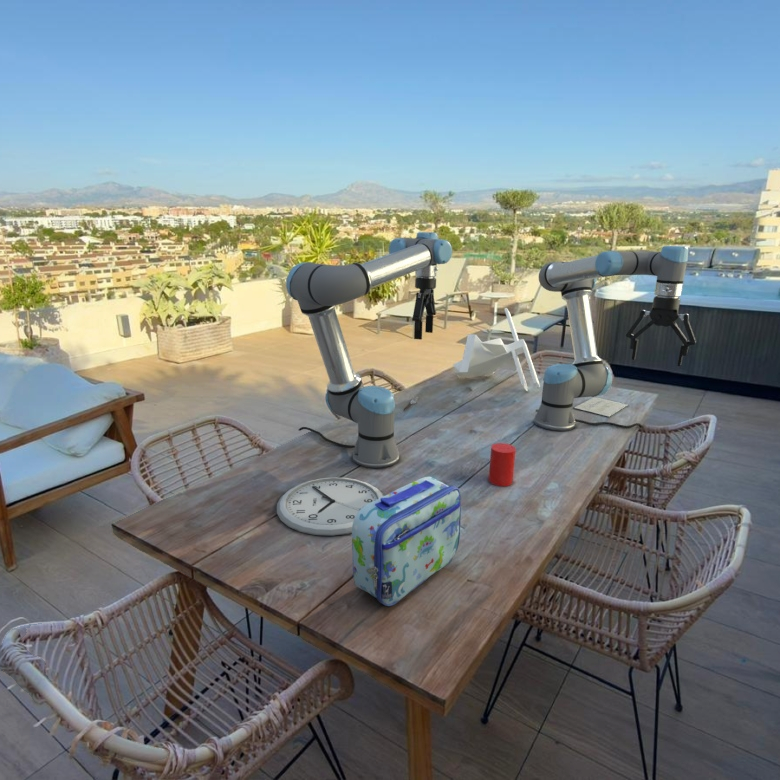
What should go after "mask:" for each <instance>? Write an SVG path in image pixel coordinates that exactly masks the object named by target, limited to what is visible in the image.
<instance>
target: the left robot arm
mask: <svg viewBox="0 0 780 780" xmlns="http://www.w3.org/2000/svg"><path fill="white" fill-rule="evenodd" d="M438 236H439V235H438V234H437V233H436V232H431V231H427V232H426V231H418V232H417V233H416V237H412V238H411V237H399V238H398V237H397V238H396V237H395V238H393V239H392V240H391V241H390V243H389V245H388V254H385V255H383V256H381V257H380V256H379V257H378V258H375V259H372V260H369V261H366V262H363V263H359V262H353V263H350V264H349V263H348V264H343V265H341V264H339V265H335V264H323V263H316V262H313V261H312V262H311V261H307V262H299V263H297V264H295V265H294V266H292V268H291V269H290V270H289V272H288V274H287V276H286V279H285V280H286V281H285V286H286V291H287V293H288V295H289V297H291V298H292V299H293V300H294V301H297V303H298V306H299V309H300V312H301V313H302V314H303V315H305V316H307V317H308V320H309V323H310V327H311V329H312V333H313V336H314V337H315V341H316V343H317V348H318V350H319V353H320V356H321V358H322V362H323V365H324V368H325V371H326V374H327V376H328V379H329V381H328V382H327V383H326V388H327V389H326V393H325V398H324V399H325V403H326V405H327V408H328V409H329V410H330V411H331V412H332V413H334V414H335V415H337V416H339V417H342V418H345V419H346V420H349V421H351V422H354V423H356V424H357V439H356V442H355V445H353V444H352V445H349V444H345V443H339V442H337V441H334V440H331V439H329V438H327V437H326V436H325V435H324V434H323V433H321V432H320V431H318V430H315V429H314V428H311V427H308V426H301V427H299V428H298V431H299V432H300V431H302V430H307V431H309V432H312V433H315V434H316V435H318V436H320V438H322V439H323V440H324V441H326V442H328V443H331V444H333V445H335V446H339V447H343V448H347V449H353V451H352V461H353V462H354V463H355V464H356V465H358V466H361V467H364V468H369V469H383V468H389V467H391V466H394V465H396V464H398V462H399V460H400V452H399V447H398V445H397V442H396V439H395V419H396V418H395V415H396V402H395V395H394V393H393V392H392V391H391V390H390V389H388V388H386V387H383V386H377V385H366V386H364V384H363V381H362V377H361V375H360V374H358V373H356V372H355V370H354V367H353V366H354V365H353V363H352V360H351V356H350V354H349V351H348V347H347V344H346V341H345V337H344V334H343V331H342V328H341V324H340V321H339V317H338V314H337V311H336V306H338V305H343V304H346V303H348V302H351V301H353V300H356V299H359V298H361V297H363V296H366V295H368V294H369V293H370V291H371V290H372V289H374V288H377V287H380V286H381V285H384V284H387V283H389V282H392V281H394V280H397V279H399V278H402V277H404V276H406V275H409V274H412V273H414V276H415V279H414V288H415V289H417V290H419V291H418V292H416V293H415V302H414V307H413V314H412V317H411V321H412V322H414V327H413V339H414V340H421V341H422V339H423V317H424V312H425V311H426V314H425V330H424V332H425V333H428V334H433V332H434V316H436V315H437V312H436V304H435V295H434V293H435V289H436V288H437V278H436V277H437V271H439V268H438V265H445V264H447V263H448V262H449V261H450V260H451V258H452V255H453V247H452V245H451V243H450V242H449V241H448V240H446V239H441V238H439V237H438Z"/></svg>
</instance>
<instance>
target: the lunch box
mask: <svg viewBox="0 0 780 780" xmlns="http://www.w3.org/2000/svg"><path fill="white" fill-rule="evenodd" d="M461 499H462V497H461V491H460V489H459V488H458V487H457V486H455V485H450V486H449V485H447V484H445V483H444V482H442V481H440V480H438V479H436V478H434V477H432V476H424V477H421V478H419V479H416V480H414V481H412V482H410V483H407V484H405V485H404V486H401V487H399V488H397V489H395V490H392V491H391V492H390V493H386V494H384V496H383V497H381V498H379V499H377V500H375V501H373V502H371V503H369V504H367V505H365V506H364V507H362V508H361V509H360V510H359V512H358V513H357V515H356V516H355V518H354V521H353V526H352V533H351V550H352V576H353V581H354V584H355V587H356V588H358V589H360V590H362V591H364V592H366V593H368V594H370V596H372V597H374V598H375V599H377V601H378V603H379V604H382V605H383V606H385V607H393V606H394V605H396V604H397V603H399V602H400V601H402V599H404V598H405V597H406V596H407V595H409V594H410V593H411V592H413V591H414V590H415V589H416V588H418V587H419V586H420V585H422V584H423V583H424V582H425V581H427V580H428V579H429V578H430V577H432V575H434V574H435V573H437V572H439V571H441V570H442V569H443V568H445V567H446V566H448V565H449V564H450V562H452V560H453V559H454V557H455V555H456V553H457V551H458V549H459V544H460V537H461V519H462V515H461V513H462V512H461V510H462V507H461V505H462V504H461V503H462V502H461Z"/></svg>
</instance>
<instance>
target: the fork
mask: <svg viewBox="0 0 780 780" xmlns="http://www.w3.org/2000/svg"><path fill="white" fill-rule="evenodd" d="M418 398H419V396H415V395H413V396H412V398H411V399H410V402H409V403H408V404H407V405H406V406H405V407H404V409H403V411H406V410H407V409H409V408H410V407H411V405H413V404H416V403H417V402H418Z"/></svg>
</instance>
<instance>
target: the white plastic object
mask: <svg viewBox="0 0 780 780" xmlns="http://www.w3.org/2000/svg"><path fill="white" fill-rule="evenodd" d="M503 310H504V313H505V316H506V319H507V322H508V325H509V328H510V332H511V335H512V338H513V342H511V343H508V344H505V343H504V341H503V340H502V338H500V337H499V338H498V337H497V338H495V339H490V340H489V339H488V340H485V341H482V340H481V339H480V337H479V336H478V335H477V334H476V333H475V334H474V333H473V334H472V333H471V334H470V333H469V334H467V338H466V340H465V341H466V342H465V345H464V351H463V355H462V359H461V360H460V361H457V362H455V363H453V364H452V366H453V370H454V374H455V375H456V377H457V378H458V379H466V378H474V377H475V378H476V377H483V376H485V377H490V376H493V375H495V372H497V370H499V369H500V368H502V367H503V366H504V365H506V364H507V363H509V362H510V361H511V360H513V362H514V365H515V368H516V371H517V374H518V377H519V381H520V384H521V385H522V387H523V388H524V390H525V391H526V392H528V390H529V388H528V387H529V386H528V384H527V381H526V377H525V375H524V371H523V369H522V368H523V367H522V364H521V362H520V361H521V360H520V359H519V355H522V354H524V356H525V359H526V362H527V365H528V368H529V372H530V375H531V378H532V380H533V383H534V386H535V387H536V389H539V388H541V384H540V382H539V378H538V375H537V372H536V369H535V366H534V363H533V361H532V358H531V357H532V356H531V353H530V351H529V348H528V345H527V342H526V341H525V339H524V338H520V339H519V337H518V332H517V330H516V327H515V323H514V321H513V318H512V315H511V312H510V311H509V309H508V307H505V308H503Z"/></svg>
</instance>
